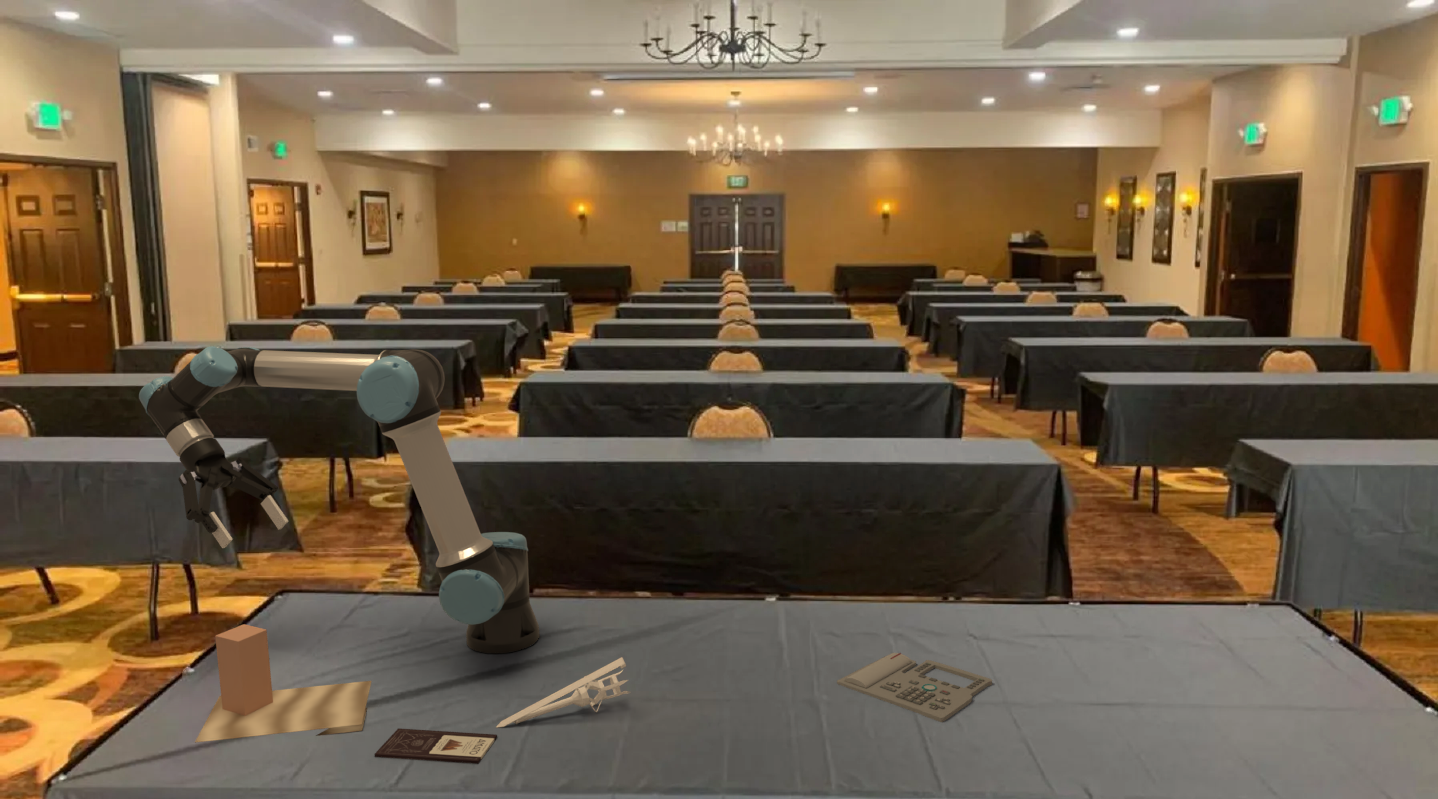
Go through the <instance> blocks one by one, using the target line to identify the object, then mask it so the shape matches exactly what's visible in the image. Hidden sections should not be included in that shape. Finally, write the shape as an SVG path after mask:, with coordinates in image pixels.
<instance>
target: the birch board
mask: <svg viewBox="0 0 1438 799" xmlns="http://www.w3.org/2000/svg"><path fill="white" fill-rule="evenodd" d="M372 682H373V681H372V680H367V681H366V680H365V681H355V682H347V683H345V682H344V683H337V684H334V683H333V684H326V685H315V686H306V687H305V686H304V687H296V688H295V687H294V688H286V689H275V690H272V695H273V702H272V703H270V704H268V705H266V706H264V707H262V708H260V709H258V710H256V711H254V712H252V713H250V714H248V715H246V716H244V715H241V714H237V713H234V712H231V711H227V710H224V709H222V699H221V695H219V696H218V698H217V700H216V702H215V703H214V706H213V707H212V709H211V711H210V713H209V715H208V717H207V718H206V720H205V723H204V724H203V727H202V728H201V729H200V731H199V733H198V735H197V736H196V738H195V740H194V743H196V744H197V743H203V742H213V741H221V740H232V739H233V740H234V739H242V738H249V737H258V736H260V737H261V736H268V735H277V734H279V735H280V734H285V733H296V732H306V731H313V730H314V731H315V730H323V731H321V732H320V733H318V734H316V735H315V736H327V735H334V734H343V733H344V734H346V733H353V732H362V731H363V729H364V723H365V720H366V716H367V711H368V707H367V703H368V699H369V695H370V690H371V686H372ZM324 729H325V730H324Z"/></svg>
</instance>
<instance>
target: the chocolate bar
mask: <svg viewBox="0 0 1438 799" xmlns="http://www.w3.org/2000/svg"><path fill="white" fill-rule="evenodd" d="M497 739H498V734H493V733H489V734H488V733H478V732H477V733H475V732H462V731H461V732H460V731H459V732H458V731H446V730H445V731H444V730H427V729H415V728H414V729H413V728H397V729H396V730H395V731H394V732H393V733H392V735H391V736H389V738H388V739H387V740H386V741H385V742H384V743H383V744H382V745H381V746H380V747H379V749H378V750H377V751H376V752H375V753H374V758H381V759H382V758H385V759H398V760H401V759H402V760H413V761H414V760H415V761H427V762H428V761H431V762H442V763H459V764H460V763H461V764H472V765H473V764H477V765H479V764H480V762H481V761H482V760H483V758H484V756H485V755H486V754H487V752H488V751H489V749H490V748H491V747H492V745H493V744H494V742H495V741H496V740H497Z"/></svg>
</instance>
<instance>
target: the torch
mask: <svg viewBox="0 0 1438 799" xmlns="http://www.w3.org/2000/svg"><path fill="white" fill-rule="evenodd" d="M626 666H627V664H626V662H625V660H624V657H622V656H621V657H619V658H618V659H615V660H614V661H612V662H610V663H608V664H606V665H604V666H603V667H601V668H598V669H597V670H595V671H593V672H591V673H589V674H588V675H584V677H581V678H580V679H578V680H576V681H574V682H572V683H571V684H569V685H567V686H565V687H562V688H561V689H559V690H558V691H556V692H554V693H552V694H550V695H548V696H546V697H544V698H542V699H541V700H538V701H536V702H535V703H533V704H531V705H529V706H527V707H525V708H523V709H522V710H519V711H517V712H516V713H514V714H512V715H510V716H508V717H507V718H504V719H503V720H501V721H500V722H499V723H498V724H497V725H496V726H495V728H504V727H506V726H508V725H510V724H512V723H514V724H515V725H518V724H519V723H522V722H526V721H529V720H530V719H534V718H537V717H539V716H542V715H546V714H548V713H550V712H551V713H552V712H553V711H557V710H559V709H562V708H565V707H568V706H571V705H576V706H578V707H581V708H584V707H585V706H589V705H590V707H591V709H593V711H594V712H595V713H598V711H599V708H600V706H601V704H602V702H603V701H605V700H608V699H612V698H617V697H618V696H621V695H625V694H626V695H628V694H630V691H627V690H623V691H621V687H620V686H622V685H624V684H625V683H627V682H628V681H629V679H626V680H625V679H623V680H621V681H619V679H618V678H617V677H618V676H619V675H620V674H622V672H623V671H624V668H626ZM617 668H620V669H621V670H620V671H619V672H617V673H613V674H611V675H608V676H606V677H603V678H601V679H599V680H597V679H598V678H600V677H602V676H604V675H606V674H607V673H610V672H611V671H613V670H615V669H617ZM607 680H609V683H610V684H609V685H606V686H605V685H604V683H603V682H604V681H607ZM588 690H594V691H598V692H597V694H596V695H595V696H594V698H591V697H590V696H589V693H588ZM608 690H612V691H613V694H611V695H607V691H608ZM573 691H574V692H573ZM572 692H573V694H572V695H571V696H570V697H566V698H564V699H563V698H562V699H561V700H559V698H561V697H563V696H565V695H567V694H570V693H572ZM556 700H558V701H556ZM554 701H556V702H554ZM598 703H599V705H598V707H597V708H596V709H595V708H594V706H595V705H597V704H598Z"/></svg>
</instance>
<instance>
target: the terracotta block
mask: <svg viewBox="0 0 1438 799" xmlns="http://www.w3.org/2000/svg"><path fill="white" fill-rule="evenodd" d="M267 632H268V631H267V629H265V628H261V627H257V626H252V625H248V624H245V623H244V624H240V625H237V627H234V628H231V629H229V630H226V631H223V632H221V633H219V634H216V635H215V637H214V638H215V648H216V656H217V665H218V666H217V667H218V675H219V676H218V679H219V688H220V696H221V699H222V709H224V710H227V711H231V712H234V713H237V714H241V715H244V716H246V715H248V714H250V713H252V712H254V711H256V710H258V709H260V708H262V707H264V706H266V705H268V704H270V703H272V702H273V695H272V691H273V687H272V686H273V685H272V674H271V665H270V653H269V643H268V633H267Z"/></svg>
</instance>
